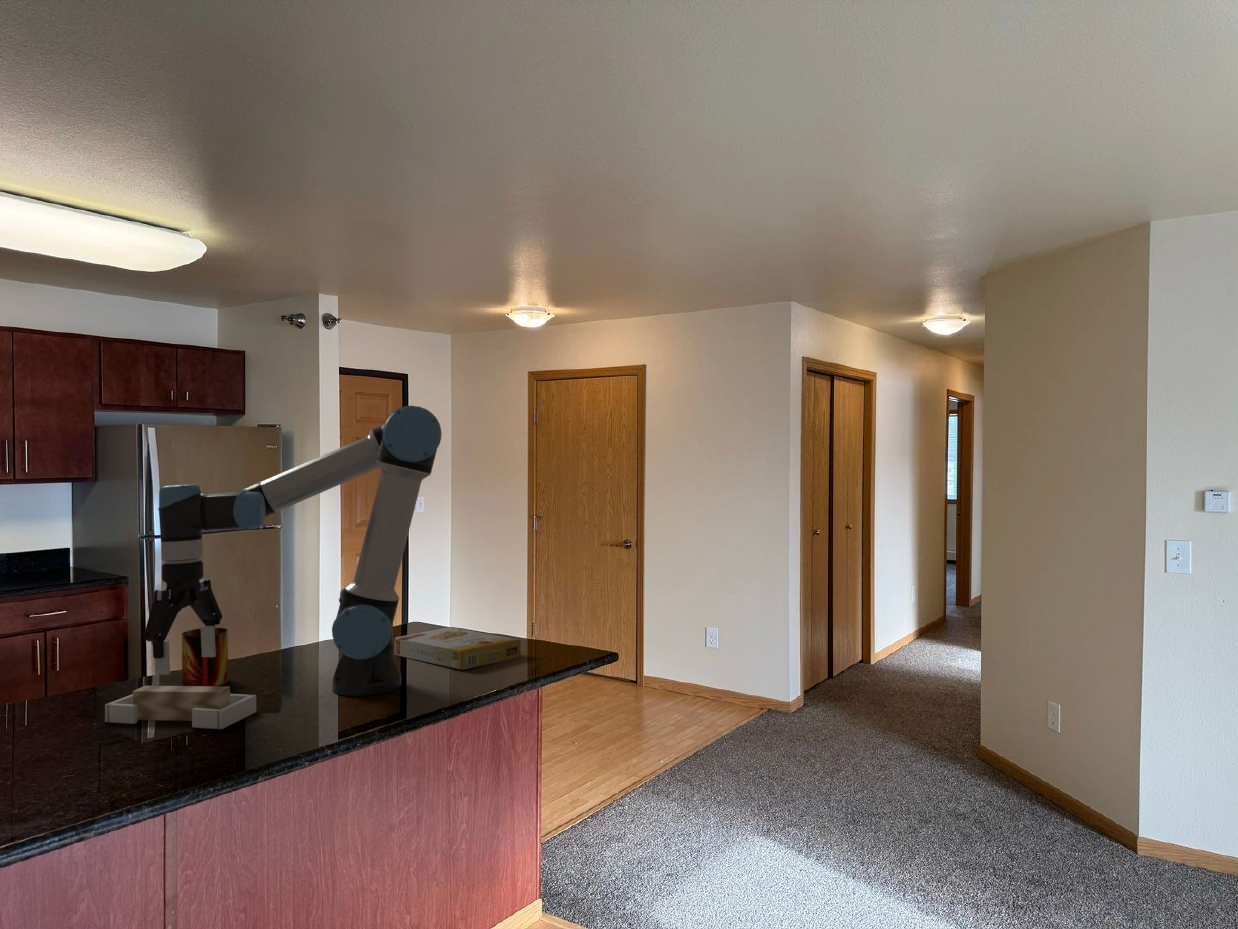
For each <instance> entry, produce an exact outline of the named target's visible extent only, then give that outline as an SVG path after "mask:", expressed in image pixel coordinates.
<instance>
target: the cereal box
mask: <svg viewBox="0 0 1238 929" xmlns="http://www.w3.org/2000/svg"><path fill="white" fill-rule="evenodd" d="M521 645H522V644H521V639H516V638H512V637H506V636H501V635H494V634H491V633H490V634H489V633H484V632H478V631H475V630H474V631H473V630H468V629H465V628H463V629H462V628H459V627H455V626H449V627H444V628H438V629H434V630H428V631H423V632H418V633H414V634H407V635H402V636H396V637H394V638H393V652H394V655H395V656H398V657H402V658H407V659H412V660H416V661H421V662H425V663H430V664H435V665H439V666H443V667H448V668H452V669H456V670H461V671H465V670H469V669H473V668H478V667H482V666H488V665H491V664H492V665H493V664H497V663H501V662H506V661H510V660H513V659H518V658H521Z"/></svg>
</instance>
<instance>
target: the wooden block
mask: <svg viewBox="0 0 1238 929" xmlns="http://www.w3.org/2000/svg"><path fill="white" fill-rule="evenodd" d="M132 694H133V704H134V705H137V720H138V721H145V720H146V721H189V722H190V721H191V722H192V709H194V708H205V709H222V708H225V707H227V706H229V705H230V694H231V686H182V685H144V686H142V687H139V688H137V689H134V690H132Z"/></svg>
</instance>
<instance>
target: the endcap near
mask: <svg viewBox="0 0 1238 929" xmlns="http://www.w3.org/2000/svg"><path fill="white" fill-rule="evenodd" d="M255 713H257V695H256V694H245V693H244V694H243V693H242V694H241V693H230V705H229V706H227V707H225V708H222V709H205V708H194V709H192V721H191V725H192V726H191V728H197V729H199V728H200V729H212V730H213V729H214V730H223V729H225V728H227V727H230V726H231V725H233V724H235V723H237V722H239V721H241V720H243V719H245V718H247V717H249V716H251V715H253V714H255Z"/></svg>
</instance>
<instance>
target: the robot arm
mask: <svg viewBox="0 0 1238 929" xmlns="http://www.w3.org/2000/svg"><path fill="white" fill-rule="evenodd" d="M442 435H443V434H442V428H441V425H440V422H439V420H438V418H437V417H436V416H435V415H434V414H433V413H432V412H431V411H430V410H428V409H427V408H425V407H424V408H423V407H421V406H417V405H416V406H415V405H405V406H402V407H399V408H397V409H396V410H394V411H393V412H391V413H390V415H389V416H388V417H387V419H386V420H385V422H384V423H383V424H381V425H379V426H377V427H375V428H372V429H370V431H369V434H368V435H367V436H365V437H362V438H360V439H358V440H356V441H353V442H350V443H348V444H346V445H343V446H340V447H339V448H337V449H334V450H332V451H330V452H327V453H325V454H323V455H320V456H318V457H315V458H314V459H311V460H309V461H305V462H304V463H302V464H299V465H297V466H294V467H292V468H290V469H288V470H285V471H282V472H281V473H278V474H276V475H274V476H272V477H269V478H267V479H266V478H265V479H264V480H262V481H260V482H257V483H255V484H252V485H250V486H248V487H246V488H242V489H241V490H238V491H233V492H219V493H218V492H216V493H202V491H201V487H200V485H198V484H174V485H164V486H162V487H161V488H160V489H159V492H158V493H159V494H158V508H157V511H158V516H159V517H158V518H159V530H160V532H159V533H160V555H161V556H160V557H161V561H163V563H162V564H161V565H160V566H161V568H160V569H161V580H162V582H164V583H165V584H166V588H165V589H155V590H154V591H153V603H152V606H151V608H150V612H149V615H148V618H147V623H146V627H145V629H144V632H143V637H142V638H143V640H144V641H147V643H148V642H151V643H152V657H153V659H154V674H155V675H167V676H168V675H170V674H171V664H170V663H171V661H170V640H167V637H168V635H169V632H170V630H171V628H172V627H173V623H174V622H175V619H176V617H177V615H178V614H179V612H181V611H182V610H183V609H184V608H187V607H188V606H189V607H190V608H191V609H192V610H193V612H194V613H195V615H196V616H197V617H198V618H199V621H201V622H202V624H203V625H200V628H201V648H202V657H215V656H216V653H215V637H216V634H215V628H216V626H217V625H218V626H219V625H220V624H221V620H222V619H223V615H222V612H221V609H220V607H219V604H218V601H217V599H216V597H215V594H214V592H213V590H212V589H213V588H212V582H211V579H203V578H204V577H205V576H204V562H203V561H202V560H201V559H203V557H204V549H203V533H202V532H203V531H212V530H214V531H218V530H241V529H242V530H248V529H256V528H260V527H262V526H263V525H264V524H265V520H266V517H268V516H271V515H273V514H275V513H278V512H280V511H282V510H284V509H286V508H290V507H291V506H293V505H296V504H298V503H301V502H303V501H305V500H307V499H310V498H312V497H314V496H317V495H319V494H321V493H324V492H326V491H328V490H331V489H333V488H335V487H339V486H340V485H342V484H345V483H346V482H348V481H352V480H354V479H356V478H358V477H361V476H363V475H366V474H368V473H370V472H373V471H375V470H378V468H379V469H380V476H379V481H378V483H377V488H376V491H375V492H376V493H375V495H374V499H373V503H372V508H371V512H370V515H369V518H368V524H367V527H366V530H365V535H364V539H363V543H362V545H361V551H360V553H359V557H358V561H357V562H358V563H357V566H356V568H355V569H356V570H355V574H354V577H353V580H352V581H351V582H350V583H348V584H347V585H345V586H344V588H342V589H341V590H340V592H339V598H338V602H339V605H338V610H337V612H336V613H337V614H336V618H335V619H334V621H333V624H332V625H331V626H332V627H331V634H332V640H333V642H334V645H335V647H336V648H337V649H338V651H339V658H338V662H337V664H336V668H335V671H334V673H333V674H334V675H333V678H332V681H331V682H332V683H331V684H332V685H331V686H332V688H331V689H332V690H331V691H332V692H334V693H335V694H338V695H340V696H342V695H343V696H347V697H349V696H350V697H365V696H366V697H367V696H376V695H381V694H386V693H389V692H392V691H395V690H397V689H399V688H400V687H401V686H402V672H401V671H400V666H399V664H398V661H397V658H396V655H394V621H395V617H396V612H397V609H398V605H399V601H400V597H399V596H400V595H398V594H397V592H396V590H395V588H396V585H397V584H396V583H397V579H398V575H399V573H400V572H399V571H400V568H401V564H402V560H403V556H404V553H405V548H406V544H407V539H408V535H409V532H410V529H411V525H412V520H413V516H414V513H415V509H416V505H417V501H418V497H419V492H420V490H421V484H422V481H424V480H425V479H426V478H428V477H429V476H431V475H432V470H433V466H434V462H435V459H436V454H437V451H438V448H439V447H440V444H441V440H442Z"/></svg>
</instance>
